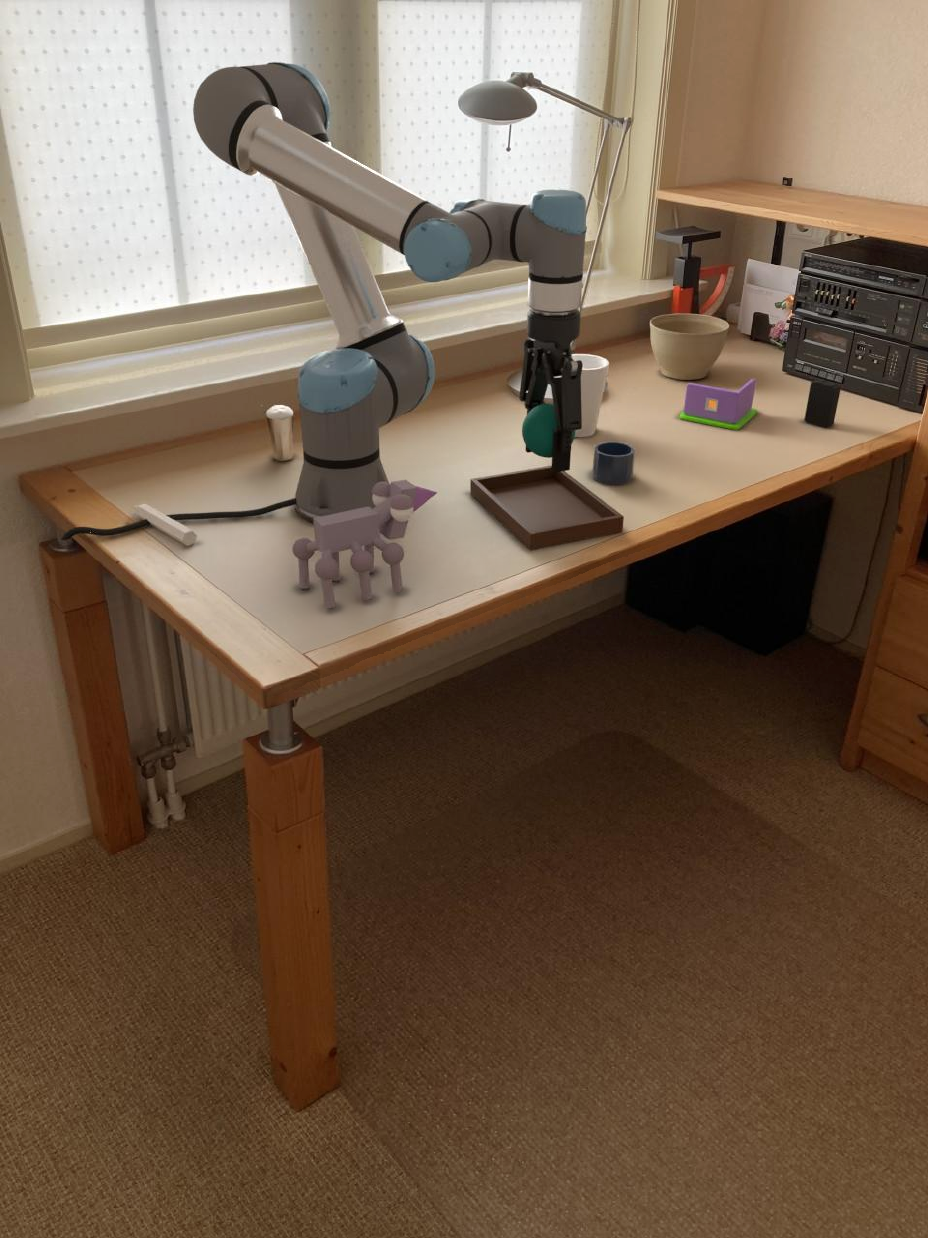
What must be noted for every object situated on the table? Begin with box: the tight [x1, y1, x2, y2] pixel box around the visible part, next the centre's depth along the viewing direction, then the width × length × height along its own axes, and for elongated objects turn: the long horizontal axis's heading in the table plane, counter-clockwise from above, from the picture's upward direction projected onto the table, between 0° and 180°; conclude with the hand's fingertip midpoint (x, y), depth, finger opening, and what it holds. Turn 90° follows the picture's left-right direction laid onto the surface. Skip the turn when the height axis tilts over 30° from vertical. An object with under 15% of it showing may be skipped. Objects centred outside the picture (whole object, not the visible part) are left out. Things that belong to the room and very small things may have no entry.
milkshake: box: [260, 404, 294, 462], centre depth 181 cm, size 5×5×10 cm
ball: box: [521, 402, 576, 459], centre depth 159 cm, size 8×8×8 cm
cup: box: [592, 441, 636, 486], centre depth 176 cm, size 7×7×5 cm
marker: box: [132, 502, 198, 547], centre depth 159 cm, size 3×2×16 cm
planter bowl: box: [649, 313, 730, 381], centre depth 222 cm, size 16×16×11 cm
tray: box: [469, 465, 625, 551], centre depth 165 cm, size 16×22×3 cm
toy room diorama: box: [679, 378, 758, 431], centre depth 202 cm, size 12×12×7 cm
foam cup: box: [556, 353, 610, 438], centre depth 192 cm, size 10×9×13 cm
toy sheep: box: [291, 479, 438, 609], centre depth 142 cm, size 20×11×14 cm, turn 119°
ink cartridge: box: [803, 379, 842, 429], centre depth 198 cm, size 5×2×8 cm, turn 44°
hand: (547, 460), depth 161 cm, fingers closed on ball, 8 cm apart
